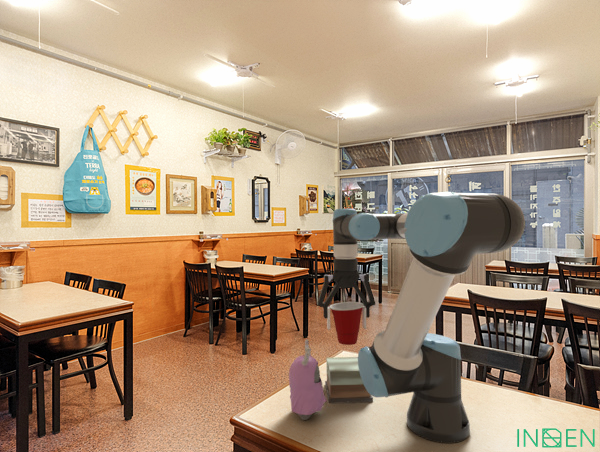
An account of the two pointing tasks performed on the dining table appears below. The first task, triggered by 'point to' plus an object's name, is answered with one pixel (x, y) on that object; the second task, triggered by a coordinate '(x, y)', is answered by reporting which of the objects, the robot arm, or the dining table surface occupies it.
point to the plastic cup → (347, 321)
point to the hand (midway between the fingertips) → (346, 328)
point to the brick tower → (345, 381)
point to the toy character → (305, 385)
